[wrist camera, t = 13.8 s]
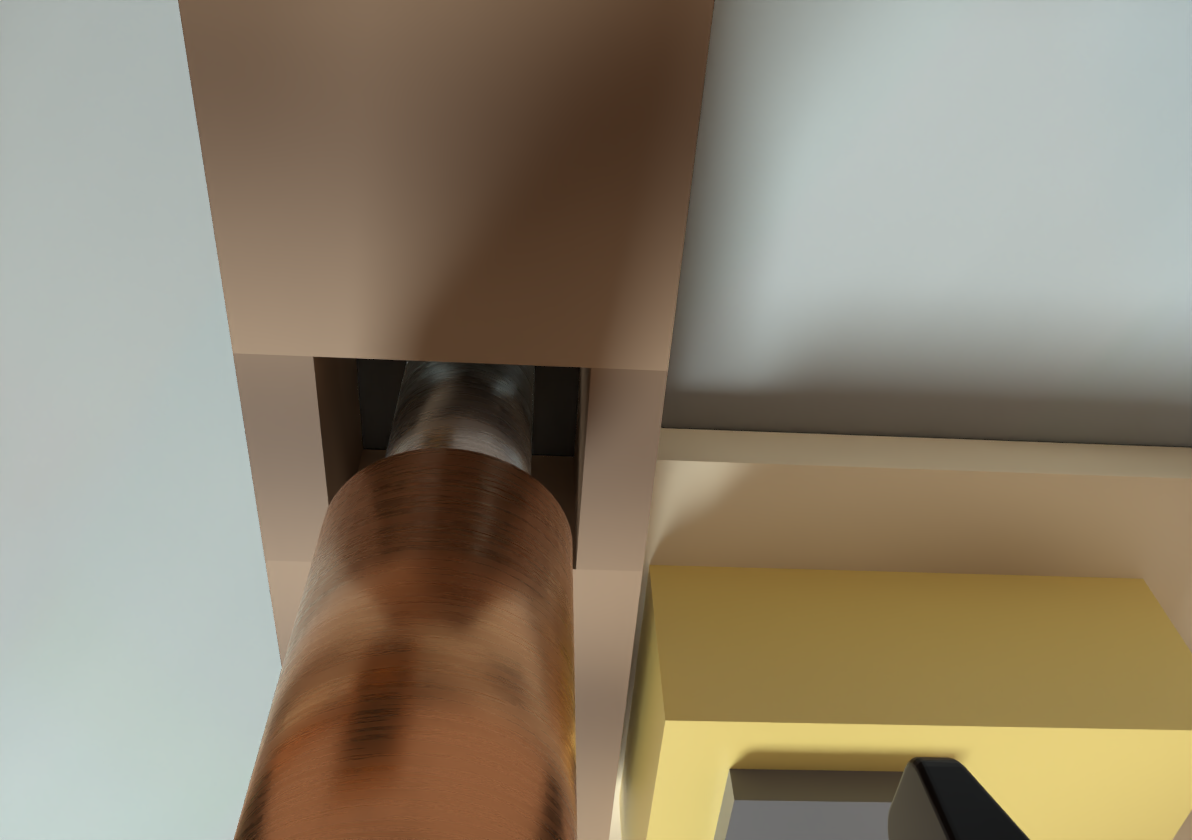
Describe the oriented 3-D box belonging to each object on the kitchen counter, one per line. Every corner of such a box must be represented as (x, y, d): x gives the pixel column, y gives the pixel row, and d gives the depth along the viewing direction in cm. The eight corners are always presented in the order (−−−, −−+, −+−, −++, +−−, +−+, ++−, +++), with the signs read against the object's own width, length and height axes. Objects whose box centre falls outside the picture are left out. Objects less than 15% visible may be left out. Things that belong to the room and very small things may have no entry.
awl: (564, 441, 16) (570, 1093, 9) (378, 435, 16) (221, 1094, 8) (574, 276, 14) (591, 904, 7) (367, 267, 14) (161, 901, 7)
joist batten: (599, 760, 20) (603, 880, 18) (339, 756, 20) (314, 878, 18) (690, -78, 12) (718, -29, 10) (237, -109, 11) (167, -65, 9)
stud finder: (1030, 804, 20) (1107, 988, 17) (619, 798, 20) (629, 987, 17) (1142, 578, 17) (1263, 761, 14) (649, 564, 16) (668, 752, 13)
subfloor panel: (1288, 830, 22) (1310, 865, 22) (592, 822, 22) (593, 857, 21) (1568, 461, 17) (1609, 493, 16) (635, 427, 16) (638, 459, 15)
